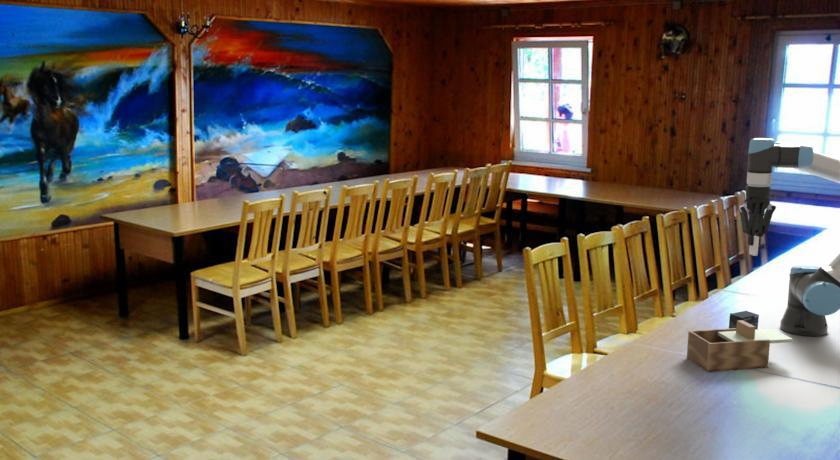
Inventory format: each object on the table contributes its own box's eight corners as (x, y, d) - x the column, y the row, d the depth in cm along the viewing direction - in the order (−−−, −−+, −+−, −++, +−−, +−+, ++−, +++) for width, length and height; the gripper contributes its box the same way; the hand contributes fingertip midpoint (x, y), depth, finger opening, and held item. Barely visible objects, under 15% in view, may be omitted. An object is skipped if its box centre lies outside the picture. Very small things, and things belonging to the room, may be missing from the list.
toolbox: (744, 354, 262) (746, 327, 260) (767, 368, 249) (770, 340, 248) (686, 357, 258) (688, 330, 257) (707, 372, 246) (709, 343, 244)
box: (740, 348, 268) (742, 317, 266) (727, 343, 273) (729, 313, 271) (757, 344, 271) (759, 314, 269) (743, 340, 276) (745, 310, 274)
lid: (771, 331, 261) (773, 316, 260) (792, 342, 250) (793, 326, 250) (717, 334, 258) (718, 319, 257) (736, 345, 247) (737, 329, 246)
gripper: (769, 183, 273) (764, 251, 277) (734, 184, 270) (729, 253, 275) (783, 186, 265) (777, 256, 270) (746, 187, 263) (741, 257, 267)
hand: (753, 254), depth 272 cm, fingers closed
